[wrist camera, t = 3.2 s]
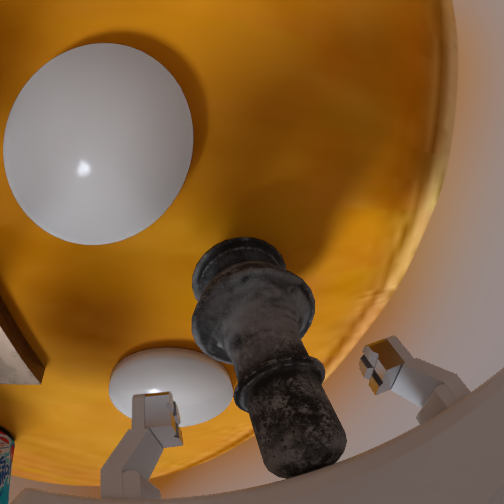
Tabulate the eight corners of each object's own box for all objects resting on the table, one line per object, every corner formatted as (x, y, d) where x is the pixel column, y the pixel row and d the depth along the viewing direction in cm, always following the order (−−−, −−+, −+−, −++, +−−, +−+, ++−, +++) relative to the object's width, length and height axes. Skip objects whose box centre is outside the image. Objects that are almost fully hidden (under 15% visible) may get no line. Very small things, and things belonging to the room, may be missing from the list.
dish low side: (3, 82, 8) (-8, 82, 7) (183, 29, 10) (184, 24, 9) (39, 249, 13) (32, 259, 12) (203, 218, 14) (205, 226, 13)
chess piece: (304, 240, 16) (447, 425, 6) (273, 323, 19) (352, 498, 9) (197, 224, 14) (260, 488, 4) (179, 317, 17) (212, 529, 7)
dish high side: (90, 355, 17) (88, 366, 16) (222, 336, 18) (224, 348, 17) (134, 422, 21) (134, 431, 20) (236, 408, 23) (238, 417, 22)
